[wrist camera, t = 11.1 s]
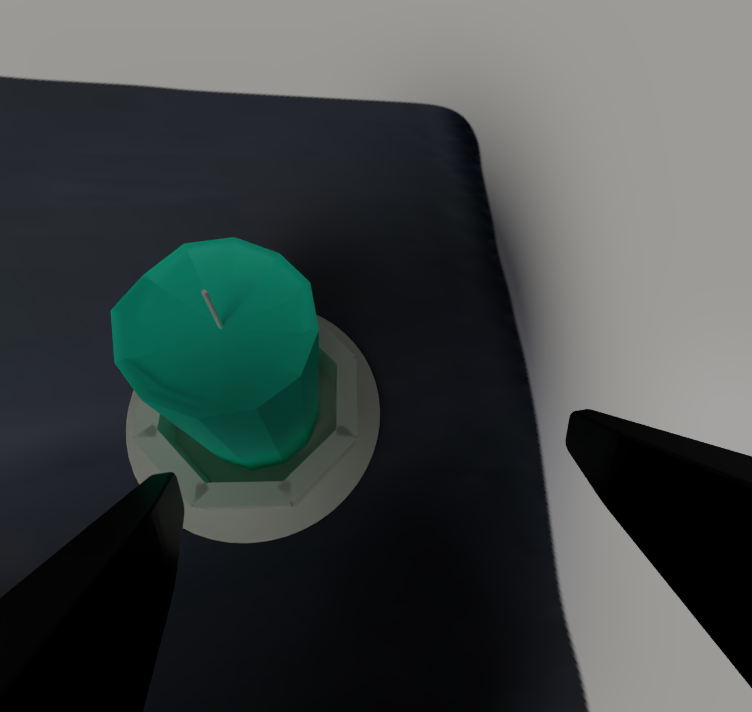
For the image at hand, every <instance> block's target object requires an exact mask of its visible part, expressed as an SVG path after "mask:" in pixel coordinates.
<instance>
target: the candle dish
mask: <svg viewBox="0 0 752 712" xmlns="http://www.w3.org/2000/svg"><path fill="white" fill-rule="evenodd" d="M316 317H317V322H318V328H319V396H318V419H317V421H316V424H315V427H314V429H313V432H312V435H311V437H310V440H309V443H308V444H307V445H306V446H305V447H304V448H302V449H301V450H300V451H299V452H298V453H297V454H295V455H294V456H293V457H292V458H291V459H290V460H288V461H287V462H286V463H285V464H282V465H277V466H273V467H268V468H263V469H258V470H253V471H252V470H249V469H246V468H243V467H240V466H237V465H234V464H231V463H228V462H226V461H223V460H222V459H220V458H219V457H218V456H216V455H215V454H214V453H212V452H211V451H210V450H208V449H207V448H206V447H204V446H203V445H201V444H200V443H199V442H197V441H196V440H195V439H193V438H192V437H191V436H189V435H188V434H187V433H185V432H184V431H183V430H181V429H180V428H179V427H177V426H176V425H175V424H173V423H172V422H170V421H169V420H168V419H166V418H165V417H164V416H162V415H161V414H160V413H158V412H157V411H156V410H154V409H153V408H152V407H150V406H149V405H148V404H146V403H145V402H144V401H142V400H141V399H140V398H139V396H138V395H137V393H136V392H135V391H133V394H132V397H131V401H130V404H129V408H128V414H127V422H126V443H127V450H128V456H129V460H130V463H131V466H132V469H133V473H134V475H135V477H136V479H137V481H138V483H139V485H140V484H141V483H142V482H143V481H144V480H146V479H147V478H148V477H149V476H151V475H153V474H159V473H166V472H173V473H175V475H176V477H177V480H178V484H179V487H180V491H181V495H182V499H183V502H184V521H183V528H184V529H186V530H188V531H190V532H192V533H194V534H197V535H200V536H203V537H206V538H209V539H212V540H218V541H223V542H229V543H255V542H264V541H270V540H274V539H278V538H282V537H287V536H289V535H292V534H294V533H297V532H299V531H302V530H304V529H306V528H308V527H309V526H311V525H313V524H315V523H317V522H318V521H320V520H321V519H323V518H324V517H325V516H327V515H328V514H329V513H331V512H332V511H333V510H334V509H335V508H336V507H337V506H338V505H339V504H341V503H342V502H343V501H344V500H345V499H346V497H347V496H348V495H349V494H350V492H351V491H352V490H353V489H354V488H355V486H356V485H357V484H358V482H359V480H360V479H361V477H362V476H363V474H364V472H365V471H366V469H367V466H368V464H369V462H370V460H371V458H372V455H373V452H374V449H375V445H376V442H377V438H378V432H379V426H380V404H379V395H378V390H377V386H376V382H375V379H374V377H373V374H372V371H371V369H370V367H369V365H368V363H367V361H366V359H365V358H364V356H363V354H362V353H361V351H360V350H359V349H358V347H357V346H356V345H355V343H354V342H353V341H352V340H351V339H350V338H349V337H348V336H347V335H346V334H345V333H344V332H342V331H341V330H340V329H339V328H338V327H336V326H335V325H334V324H332V323H330V322H329V321H327V320H326V319H324V318H322V317H320V316H318V315H316Z"/></svg>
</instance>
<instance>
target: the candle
mask: <svg viewBox="0 0 752 712" xmlns="http://www.w3.org/2000/svg"><path fill="white" fill-rule="evenodd" d="M111 321H112V335H113V348H114V362H115V364H116V365H117V367H118V368H119V370H120V371H121V372H122V374H123V375H124V377H125V378H126V379H127V381H128V382H129V384H130V385H131V386H132V388H133V389H134V391H135V392H136V393H137V395H138V396H139V398H140V399H141V400H142V401H144V402H145V403H146V404H148V405H149V406H150V407H152V408H153V409H154V410H156V411H157V412H158V413H160V414H161V415H162V416H164V417H165V418H166V419H168V420H169V421H170V422H172V423H173V424H175V425H176V426H177V427H179V428H180V429H181V430H183V431H184V432H185V433H187V434H188V435H189V436H191V437H192V438H193V439H195V440H196V441H197V442H199V443H200V444H201V445H203V446H204V447H206V448H207V449H208V450H210V451H211V452H212V453H214V454H215V455H216V456H218V457H219V458H220V459H222V460H223V461H226V462H228V463H231V464H234V465H237V466H240V467H243V468H246V469H249V470H252V471H253V470H258V469H263V468H268V467H273V466H277V465H282V464H285V463H286V462H287V461H288V460H290V459H291V458H292V457H293V456H294V455H295V454H297V453H298V452H299V451H300V450H301V449H302V448H304V447H305V446H306V445H307V444H308V443H309V440H310V437H311V435H312V432H313V429H314V427H315V424H316V421H317V419H318V396H319V328H318V322H317V317H316V311H315V306H314V300H313V295H312V289H311V284H310V282H309V281H308V280H307V279H306V278H305V277H304V276H303V275H302V274H301V273H300V272H299V271H298V270H297V269H296V268H295V267H293V266H292V265H291V264H290V263H289V262H288V261H287V260H286V259H285V258H284V257H283V256H282V255H281V254H280V253H277V252H274V251H272V250H269V249H266V248H263V247H260V246H258V245H255V244H252V243H249V242H246V241H244V240H241V239H238V238H235V237H232V238H224V239H216V240H208V241H201V242H193V243H185V244H183V245H182V246H180V247H179V248H178V249H177V250H175V251H174V252H173V253H171V254H170V255H169V256H167V257H166V258H165V259H163V260H162V261H161V262H160V263H158V264H157V265H156V266H154V267H153V268H152V269H150V270H149V271H148V272H147V273H145V274H144V275H143V276H142V277H141V278H140V279H139V280H138V281H137V282H136V283H135V285H134V286H133V287H132V288H131V289H130V290H129V291H128V292H127V293H126V294H125V295H124V297H123V298H122V299H121V300H120V301H119V302H118V303H117V304H116V305H115V306H114V307H113V309H112V310H111Z"/></svg>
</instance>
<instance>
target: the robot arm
mask: <svg viewBox="0 0 752 712" xmlns="http://www.w3.org/2000/svg"><path fill="white" fill-rule="evenodd" d="M566 447H567V449H568V451H569V453H570V454H571V456H572V457H573V459H574V460H575V462H576V463H577V465H578V466H579V468H580V469H581V471H582V472H583V474H584V475H585V477H586V478H587V480H588V481H589V483H590V484H591V486H592V487H593V489H594V490H595V492H596V493H597V495H598V496H599V498H600V499H601V500H602V502H603V503H604V505H605V506H606V507H607V509H608V510H609V511H610V512H611V514H612V515H613V516H614V517H615V519H616V520H617V521H618V522H619V524H620V525H621V526H622V527H623V529H624V530H625V531H626V532H627V534H628V535H629V536H630V537H631V538H632V540H633V541H634V542H635V543H636V545H637V546H638V547H639V549H640V550H641V551H642V552H643V553H644V555H645V556H646V557H647V558H648V560H649V561H650V562H651V563H652V565H653V566H654V567H655V568H656V570H657V571H658V572H659V573H660V575H661V576H662V577H663V578H664V580H665V581H666V582H667V583H668V585H669V586H670V587H671V588H672V590H673V591H674V592H675V593H676V594H677V596H678V597H679V598H680V599H681V601H682V602H683V603H684V604H685V605H686V607H687V608H688V609H689V611H690V612H691V613H692V614H693V616H694V617H695V618H696V619H697V621H698V622H699V623H700V624H701V626H702V627H703V628H704V629H705V631H706V632H707V633H708V634H709V635H710V637H711V638H712V639H713V641H714V642H715V643H716V644H717V645H718V647H719V648H720V649H721V650H722V652H723V653H724V654H725V655H726V657H727V658H728V659H729V660H730V662H731V663H732V664H733V665H734V666H735V668H736V669H737V670H738V671H739V673H740V674H741V675H742V677H743V678H744V679H745V680H746V682H747V683H748V684H749V685H750V686H751V688H752V457H751V456H748V455H745V454H741V453H738V452H734V451H731V450H728V449H724V448H721V447H717V446H714V445H710V444H707V443H704V442H700V441H697V440H693V439H690V438H686V437H683V436H680V435H676V434H673V433H669V432H666V431H663V430H659V429H656V428H652V427H649V426H645V425H642V424H639V423H635V422H632V421H628V420H625V419H621V418H618V417H615V416H611V415H608V414H604V413H601V412H597V411H594V410H590V409H585V410H580V411H574V412H573V413H572V414H571V415H570V418H569V424H568V429H567V435H566ZM183 521H184V502H183V499H182V495H181V491H180V487H179V484H178V480H177V477H176V475H175V473H173V472H166V473H159V474H153V475H151V476H149V477H148V478H147V479H146V480H144V481H143V482H142V483H141V484H140V485H138V486H137V487H136V488H135V489H133V490H132V491H131V492H130V493H129V494H127V495H126V496H125V497H124V498H122V499H121V500H120V501H119V502H118V503H116V504H115V505H114V506H113V507H111V508H110V509H109V510H108V511H107V512H105V513H104V514H103V515H102V516H100V517H99V518H98V519H97V520H96V521H94V522H93V523H92V524H91V525H89V526H88V527H87V528H86V529H84V530H83V531H82V532H81V533H80V534H78V535H77V536H76V537H75V538H73V539H72V540H71V541H70V542H69V543H67V544H66V545H65V546H64V547H62V548H61V549H60V550H59V551H58V552H56V553H55V554H54V555H53V556H51V557H50V558H49V559H48V560H47V561H45V562H44V563H43V564H42V565H40V566H39V567H38V568H37V569H36V570H34V571H33V572H32V573H31V574H29V575H28V576H27V577H26V578H25V579H23V580H22V581H21V582H20V583H18V584H17V585H16V586H15V587H14V588H12V589H11V590H10V591H9V592H7V593H6V594H5V595H4V596H2V597H1V598H0V712H143V709H144V705H145V701H146V697H147V693H148V689H149V685H150V681H151V677H152V674H153V670H154V666H155V662H156V658H157V654H158V650H159V646H160V642H161V639H162V635H163V631H164V627H165V623H166V619H167V615H168V611H169V607H170V604H171V599H172V595H173V591H174V585H175V579H176V572H177V565H178V558H179V551H180V543H181V536H182V529H183Z"/></svg>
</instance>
